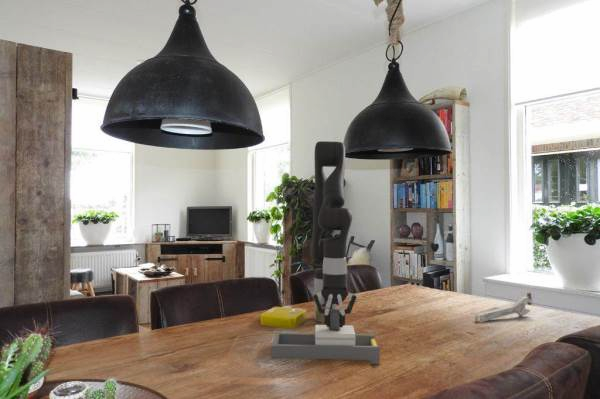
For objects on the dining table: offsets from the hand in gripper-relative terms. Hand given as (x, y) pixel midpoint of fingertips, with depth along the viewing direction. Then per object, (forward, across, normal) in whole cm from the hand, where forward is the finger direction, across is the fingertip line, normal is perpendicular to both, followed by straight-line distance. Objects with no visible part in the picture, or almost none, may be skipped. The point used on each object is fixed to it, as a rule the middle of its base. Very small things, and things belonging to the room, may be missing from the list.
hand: (334, 326), depth 129 cm
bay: (+9, +3, 0) cm, 10 cm away
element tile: (+10, +19, -37) cm, 43 cm away
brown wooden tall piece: (+9, +2, -20) cm, 22 cm away
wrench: (+10, -72, -48) cm, 87 cm away
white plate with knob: (+8, 0, 0) cm, 8 cm away
